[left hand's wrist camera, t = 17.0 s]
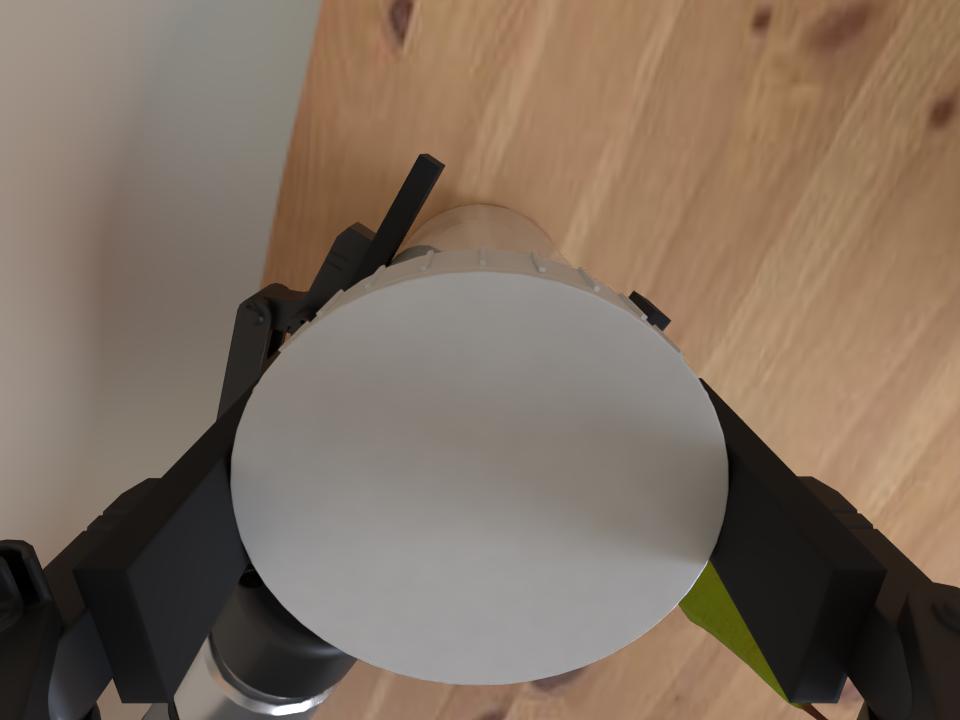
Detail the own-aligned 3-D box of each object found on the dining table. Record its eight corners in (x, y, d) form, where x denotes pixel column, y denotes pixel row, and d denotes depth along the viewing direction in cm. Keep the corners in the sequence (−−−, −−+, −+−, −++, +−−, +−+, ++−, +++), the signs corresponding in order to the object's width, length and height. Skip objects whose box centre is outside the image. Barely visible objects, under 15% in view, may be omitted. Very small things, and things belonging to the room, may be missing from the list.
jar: (602, 269, 26) (782, 442, 10) (503, 403, 28) (531, 694, 13) (451, 166, 24) (401, 193, 9) (361, 319, 27) (202, 545, 11)
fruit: (642, 574, 33) (726, 792, 22) (660, 492, 30) (764, 689, 19) (742, 578, 33) (878, 797, 22) (768, 497, 30) (934, 696, 19)
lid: (177, 384, 12) (113, 432, 10) (580, 149, 10) (607, 148, 8) (412, 658, 15) (402, 738, 13) (748, 520, 13) (798, 587, 11)
